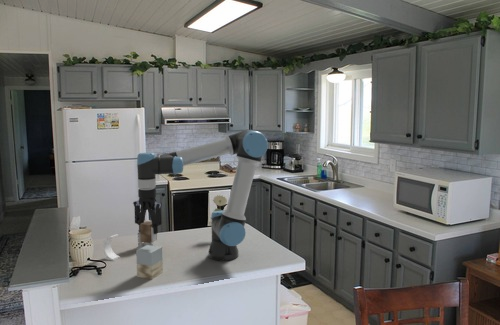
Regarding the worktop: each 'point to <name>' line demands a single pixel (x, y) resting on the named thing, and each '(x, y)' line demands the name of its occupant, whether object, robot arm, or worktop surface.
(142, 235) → the walnut block
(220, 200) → the flower in vase
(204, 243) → the worktop surface
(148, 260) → the grey block
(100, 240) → the worktop surface
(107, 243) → the white curved piece
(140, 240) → the french press
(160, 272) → the beech block
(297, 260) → the worktop surface
